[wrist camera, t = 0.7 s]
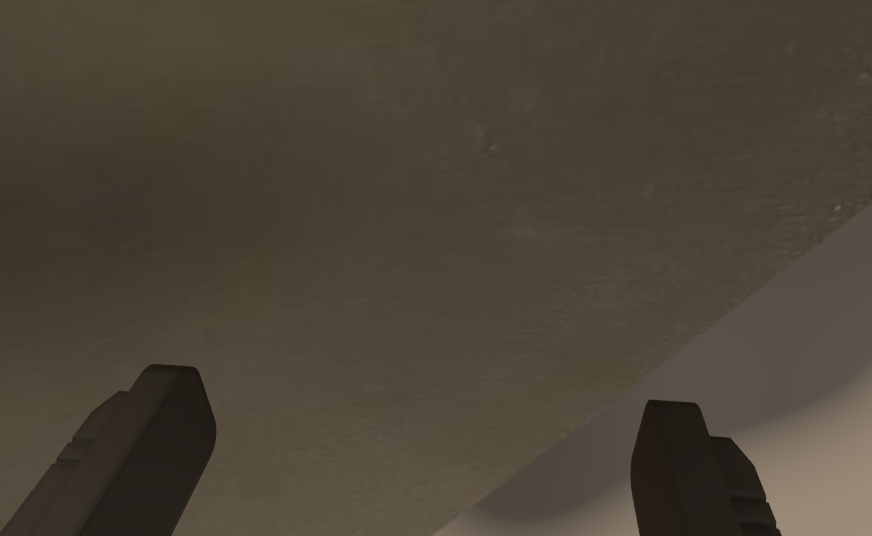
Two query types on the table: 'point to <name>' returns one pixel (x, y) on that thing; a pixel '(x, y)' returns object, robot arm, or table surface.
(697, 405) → the robot arm
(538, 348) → the table surface
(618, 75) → the table surface
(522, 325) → the table surface
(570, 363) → the table surface
